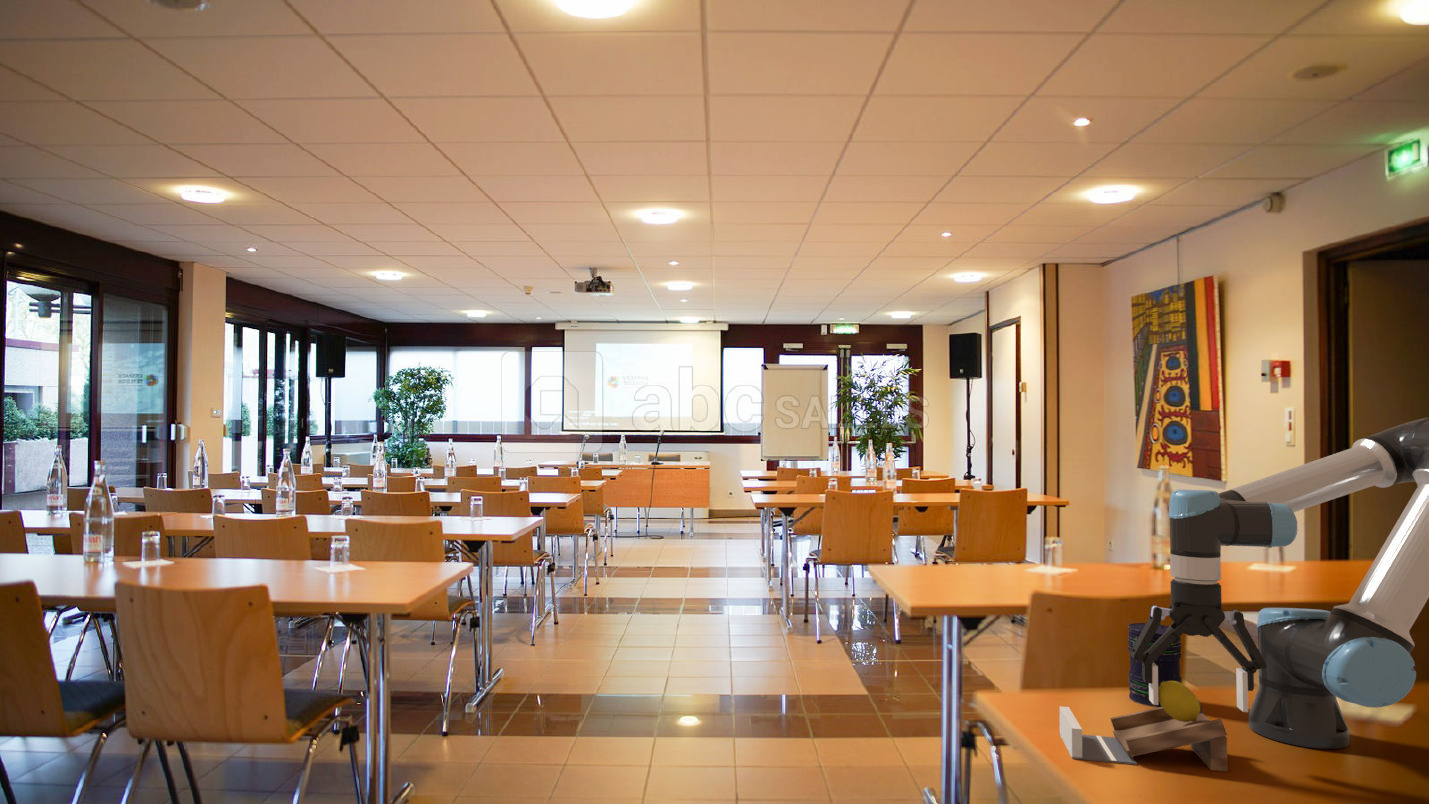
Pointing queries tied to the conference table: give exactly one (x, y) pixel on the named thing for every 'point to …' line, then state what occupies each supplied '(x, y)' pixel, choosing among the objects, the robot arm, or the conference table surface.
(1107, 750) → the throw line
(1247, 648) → the robot arm
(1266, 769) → the conference table surface
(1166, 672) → the dark blue upright cylinder
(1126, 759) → the lane mat
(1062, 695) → the conference table surface
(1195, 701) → the lemon
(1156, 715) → the ramp
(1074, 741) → the rail
